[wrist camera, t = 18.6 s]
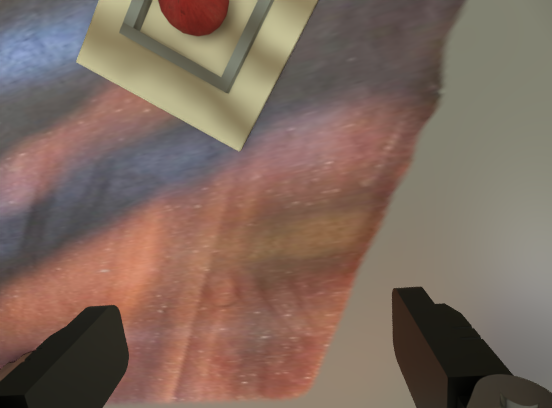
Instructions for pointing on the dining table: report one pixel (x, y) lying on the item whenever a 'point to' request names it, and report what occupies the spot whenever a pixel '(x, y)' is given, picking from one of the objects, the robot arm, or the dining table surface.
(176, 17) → the onion
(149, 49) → the cradle board
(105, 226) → the dining table surface
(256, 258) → the dining table surface
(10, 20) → the dining table surface
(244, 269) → the dining table surface
